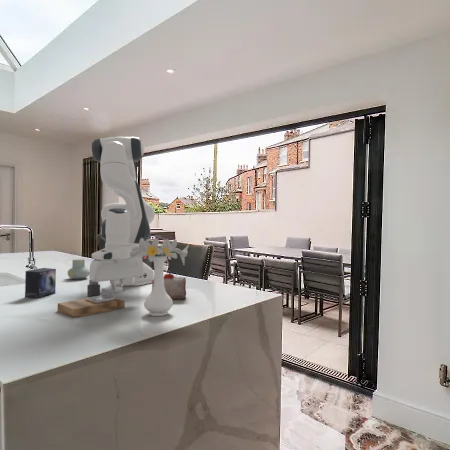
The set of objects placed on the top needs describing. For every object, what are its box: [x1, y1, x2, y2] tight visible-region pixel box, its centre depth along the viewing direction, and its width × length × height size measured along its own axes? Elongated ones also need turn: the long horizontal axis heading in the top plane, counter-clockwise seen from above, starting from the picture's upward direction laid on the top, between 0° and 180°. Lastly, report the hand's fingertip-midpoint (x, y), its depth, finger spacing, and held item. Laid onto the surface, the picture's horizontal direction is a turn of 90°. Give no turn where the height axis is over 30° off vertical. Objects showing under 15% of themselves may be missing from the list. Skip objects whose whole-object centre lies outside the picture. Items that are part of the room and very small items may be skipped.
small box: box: [24, 267, 57, 299], centre depth 146 cm, size 11×6×10 cm, turn 168°
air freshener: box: [67, 258, 90, 280], centre depth 188 cm, size 11×8×10 cm
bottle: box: [86, 279, 101, 298], centre depth 137 cm, size 4×4×10 cm
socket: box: [57, 297, 126, 319], centre depth 124 cm, size 18×12×3 cm, turn 138°
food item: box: [151, 272, 187, 300], centre depth 143 cm, size 14×8×10 cm, turn 95°
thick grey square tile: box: [85, 287, 115, 303], centre depth 126 cm, size 7×7×3 cm
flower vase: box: [132, 238, 190, 317], centre depth 119 cm, size 13×18×25 cm
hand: (117, 291), depth 131 cm, fingers closed
